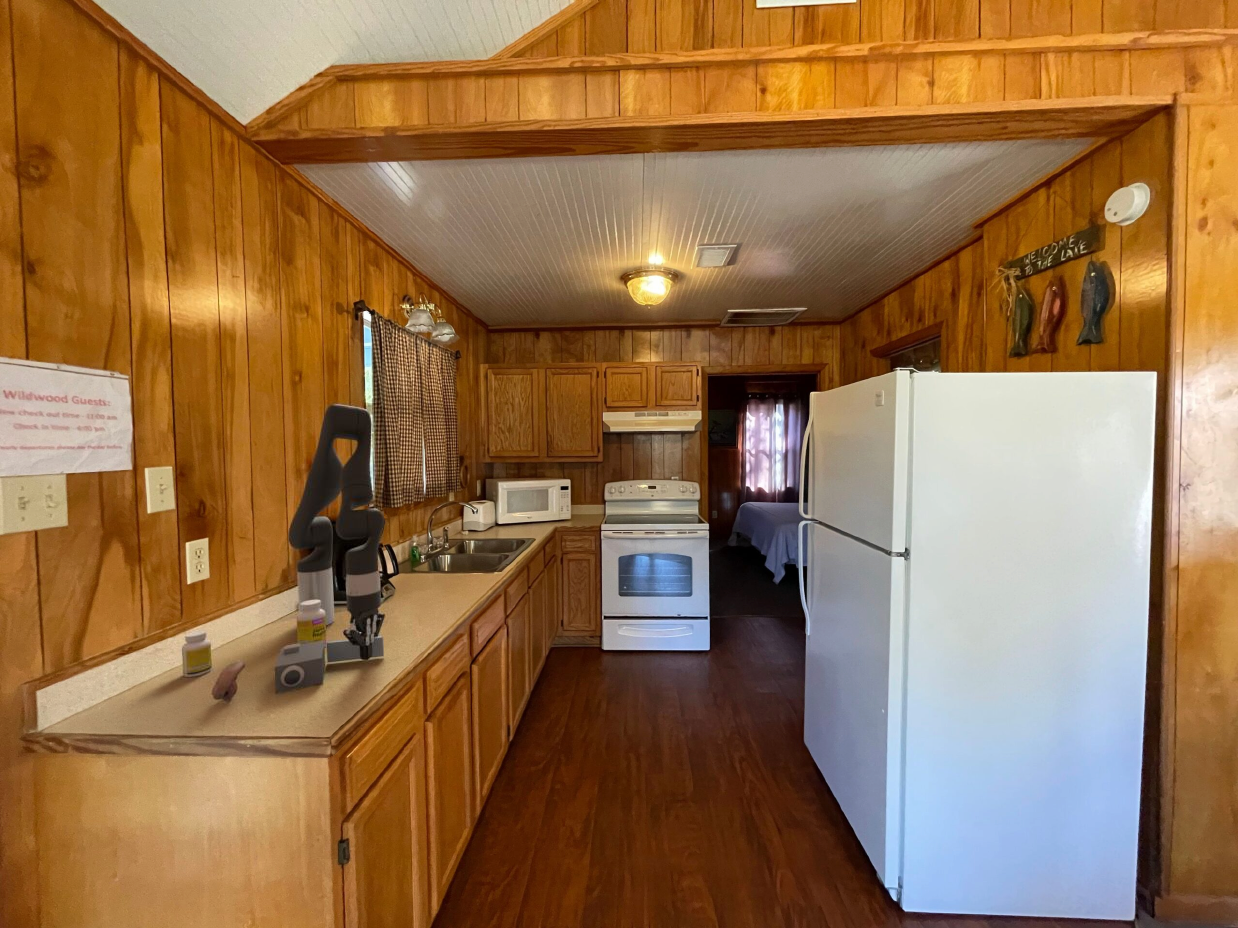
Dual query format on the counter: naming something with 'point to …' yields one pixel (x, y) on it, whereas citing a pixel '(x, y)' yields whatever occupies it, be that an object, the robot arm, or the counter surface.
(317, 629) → the supplement bottle
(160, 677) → the counter surface
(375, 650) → the door
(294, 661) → the camera box
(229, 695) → the mushroom
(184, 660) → the supplement bottle
